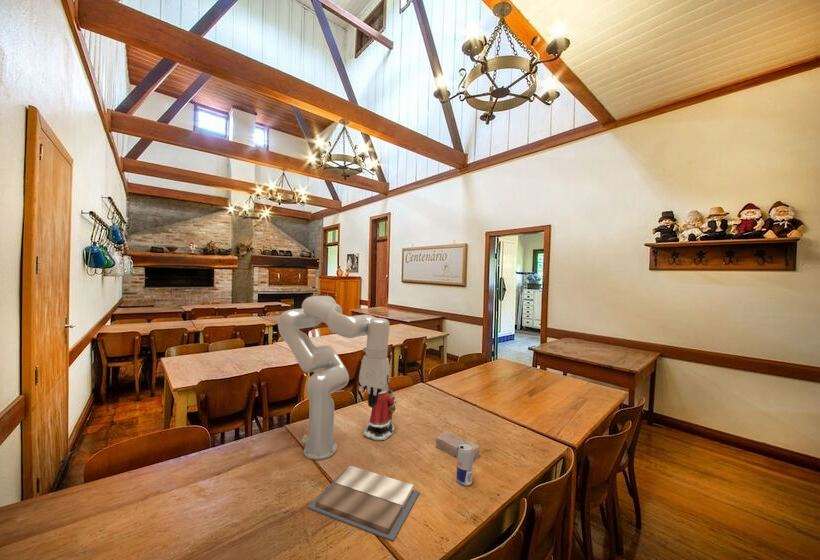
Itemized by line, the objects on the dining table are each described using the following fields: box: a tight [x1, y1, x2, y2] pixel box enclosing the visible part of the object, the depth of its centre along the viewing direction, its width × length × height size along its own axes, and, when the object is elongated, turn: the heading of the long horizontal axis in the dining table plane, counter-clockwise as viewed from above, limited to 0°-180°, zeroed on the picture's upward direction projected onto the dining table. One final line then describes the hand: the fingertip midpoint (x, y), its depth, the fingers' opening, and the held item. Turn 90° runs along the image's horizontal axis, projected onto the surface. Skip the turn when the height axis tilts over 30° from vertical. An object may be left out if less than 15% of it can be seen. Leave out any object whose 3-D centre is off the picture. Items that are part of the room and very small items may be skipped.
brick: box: [435, 430, 480, 462], centre depth 123 cm, size 17×8×5 cm, turn 48°
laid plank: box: [316, 483, 402, 534], centre depth 90 cm, size 24×9×2 cm, turn 68°
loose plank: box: [335, 465, 414, 509], centre depth 98 cm, size 24×9×2 cm, turn 68°
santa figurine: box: [363, 389, 398, 442], centre depth 137 cm, size 17×14×25 cm
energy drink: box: [455, 443, 474, 487], centre depth 105 cm, size 5×5×12 cm
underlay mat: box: [307, 468, 421, 542], centre depth 94 cm, size 28×20×1 cm
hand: (372, 404), depth 107 cm, fingers closed
